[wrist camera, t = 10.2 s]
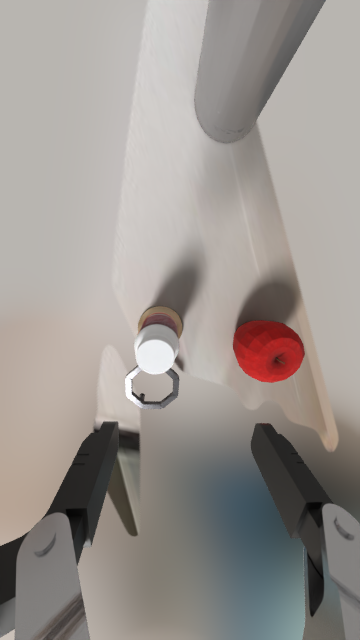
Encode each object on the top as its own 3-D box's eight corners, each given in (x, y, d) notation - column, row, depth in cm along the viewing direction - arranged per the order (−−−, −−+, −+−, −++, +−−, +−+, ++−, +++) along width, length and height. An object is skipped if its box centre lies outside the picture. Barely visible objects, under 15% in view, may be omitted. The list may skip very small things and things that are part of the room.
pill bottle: (138, 315, 30) (121, 339, 19) (172, 307, 30) (174, 326, 19) (148, 347, 32) (137, 384, 21) (180, 339, 32) (186, 373, 21)
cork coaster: (138, 305, 30) (137, 305, 30) (183, 307, 31) (183, 308, 30) (138, 346, 32) (137, 348, 32) (180, 348, 33) (180, 349, 32)
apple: (213, 344, 33) (234, 377, 23) (242, 302, 31) (279, 317, 21) (253, 366, 35) (289, 405, 25) (282, 327, 33) (335, 352, 23)
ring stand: (128, 356, 33) (125, 363, 30) (179, 358, 33) (180, 364, 31) (129, 399, 35) (126, 408, 33) (176, 400, 36) (176, 408, 34)
